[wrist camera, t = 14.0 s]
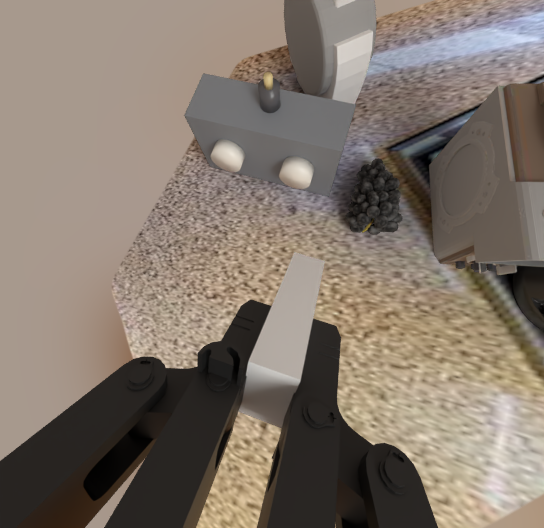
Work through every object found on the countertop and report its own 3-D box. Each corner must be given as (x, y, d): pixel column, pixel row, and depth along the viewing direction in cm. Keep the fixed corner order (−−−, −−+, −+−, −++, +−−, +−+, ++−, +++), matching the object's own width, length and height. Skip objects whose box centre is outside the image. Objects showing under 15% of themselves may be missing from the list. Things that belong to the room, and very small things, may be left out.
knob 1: (256, 139, 47) (252, 117, 42) (242, 174, 46) (236, 156, 41) (229, 133, 48) (222, 110, 43) (215, 167, 47) (206, 148, 42)
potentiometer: (283, 98, 39) (282, 68, 34) (277, 115, 38) (275, 87, 34) (264, 94, 39) (260, 64, 35) (257, 110, 38) (253, 82, 34)
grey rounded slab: (358, 117, 52) (399, -8, 32) (319, 134, 52) (337, 18, 32) (317, 55, 56) (332, -90, 37) (282, 70, 56) (277, -68, 36)
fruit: (377, 131, 41) (364, 218, 37) (421, 149, 42) (413, 235, 39) (347, 161, 49) (335, 235, 46) (385, 176, 51) (376, 248, 47)
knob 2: (320, 154, 46) (324, 133, 41) (309, 191, 44) (311, 174, 39) (292, 148, 46) (292, 126, 41) (279, 184, 45) (278, 166, 40)
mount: (339, 160, 50) (356, 104, 38) (328, 196, 49) (342, 151, 36) (224, 132, 53) (203, 73, 41) (210, 166, 52) (184, 115, 39)
